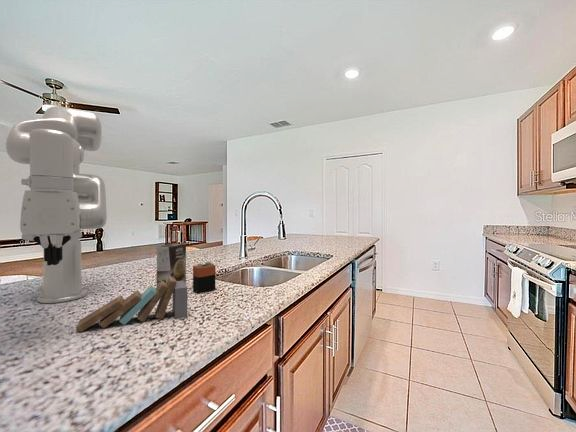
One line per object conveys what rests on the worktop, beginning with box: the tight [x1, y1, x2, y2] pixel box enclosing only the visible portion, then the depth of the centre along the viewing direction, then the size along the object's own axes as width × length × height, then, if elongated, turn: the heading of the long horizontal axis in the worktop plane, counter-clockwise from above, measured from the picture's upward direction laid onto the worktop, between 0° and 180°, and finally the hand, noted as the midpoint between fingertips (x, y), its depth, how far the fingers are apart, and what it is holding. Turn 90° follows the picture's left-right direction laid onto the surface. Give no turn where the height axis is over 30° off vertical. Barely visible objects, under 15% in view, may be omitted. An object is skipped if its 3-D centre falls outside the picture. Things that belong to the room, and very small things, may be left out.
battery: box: [192, 261, 216, 294], centre depth 97 cm, size 4×7×10 cm, turn 137°
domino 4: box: [137, 280, 168, 323], centre depth 73 cm, size 2×5×10 cm
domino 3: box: [118, 284, 156, 326], centre depth 71 cm, size 2×5×10 cm
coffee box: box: [156, 243, 187, 287], centre depth 100 cm, size 9×6×16 cm
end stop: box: [171, 281, 188, 320], centre depth 76 cm, size 3×8×8 cm, turn 28°
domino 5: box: [154, 277, 177, 320], centre depth 74 cm, size 2×5×10 cm, turn 28°
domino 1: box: [75, 295, 125, 334], centre depth 67 cm, size 2×5×10 cm
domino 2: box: [98, 290, 142, 329], centre depth 69 cm, size 2×5×10 cm
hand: (53, 263), depth 63 cm, fingers closed
